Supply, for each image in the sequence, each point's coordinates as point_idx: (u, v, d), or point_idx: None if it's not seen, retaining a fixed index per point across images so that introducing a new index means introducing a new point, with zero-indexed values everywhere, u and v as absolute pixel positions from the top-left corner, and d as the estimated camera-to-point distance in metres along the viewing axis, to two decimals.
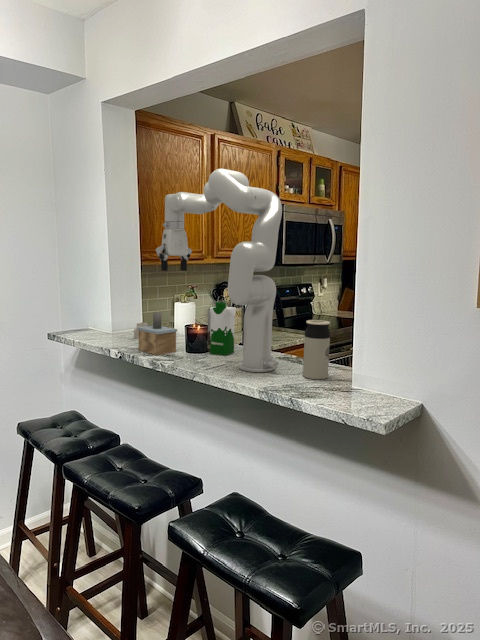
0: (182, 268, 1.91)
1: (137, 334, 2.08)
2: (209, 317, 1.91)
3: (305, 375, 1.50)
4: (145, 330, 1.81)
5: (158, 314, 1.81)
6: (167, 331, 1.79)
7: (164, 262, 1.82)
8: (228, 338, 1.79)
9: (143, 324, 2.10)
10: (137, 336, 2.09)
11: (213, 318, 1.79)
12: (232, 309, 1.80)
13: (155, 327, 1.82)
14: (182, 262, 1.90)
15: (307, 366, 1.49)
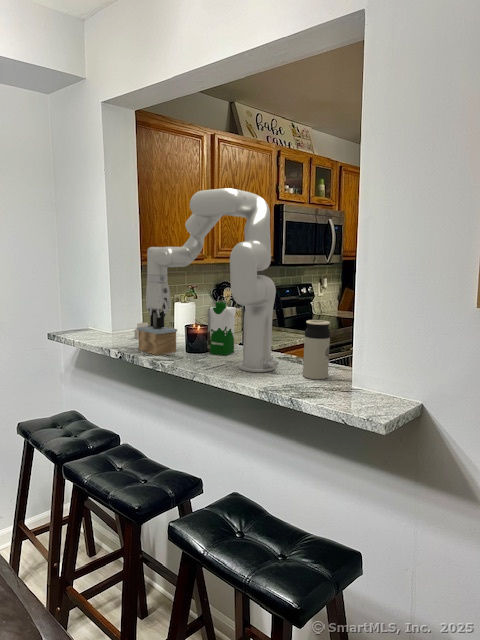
0: None
1: (138, 334, 2.08)
2: (209, 317, 1.91)
3: (305, 375, 1.50)
4: (145, 330, 1.81)
5: None
6: (167, 331, 1.79)
7: None
8: (228, 338, 1.79)
9: (144, 324, 2.10)
10: (138, 336, 2.09)
11: (213, 318, 1.79)
12: (232, 309, 1.80)
13: (155, 327, 1.82)
14: None
15: (307, 366, 1.49)
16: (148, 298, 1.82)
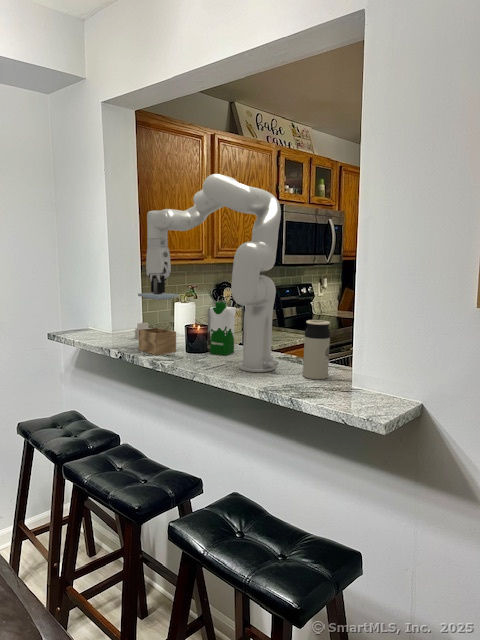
0: None
1: (138, 334, 2.08)
2: (209, 317, 1.91)
3: (305, 375, 1.50)
4: (146, 295, 1.79)
5: None
6: (168, 296, 1.77)
7: None
8: (228, 338, 1.79)
9: (144, 324, 2.10)
10: (138, 336, 2.09)
11: (213, 318, 1.79)
12: (232, 309, 1.80)
13: (156, 292, 1.80)
14: None
15: (307, 366, 1.49)
16: (148, 263, 1.80)
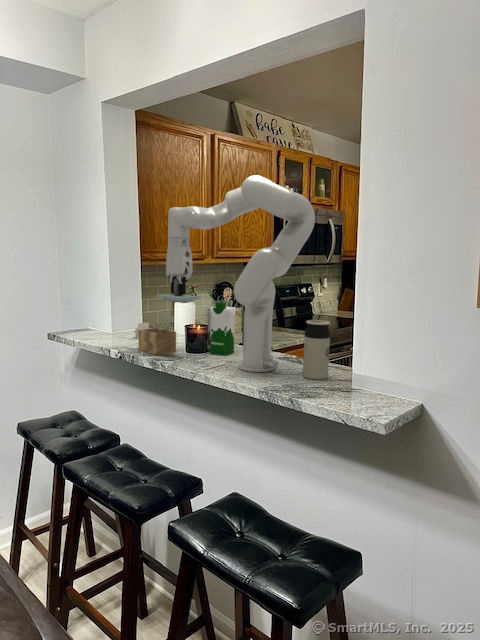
0: None
1: (138, 334, 2.09)
2: (209, 317, 1.91)
3: (305, 375, 1.50)
4: (165, 297, 1.69)
5: None
6: (189, 298, 1.67)
7: None
8: (228, 338, 1.79)
9: (144, 324, 2.10)
10: (138, 336, 2.09)
11: (213, 318, 1.79)
12: (232, 309, 1.80)
13: (176, 294, 1.70)
14: None
15: (307, 366, 1.49)
16: (169, 263, 1.70)
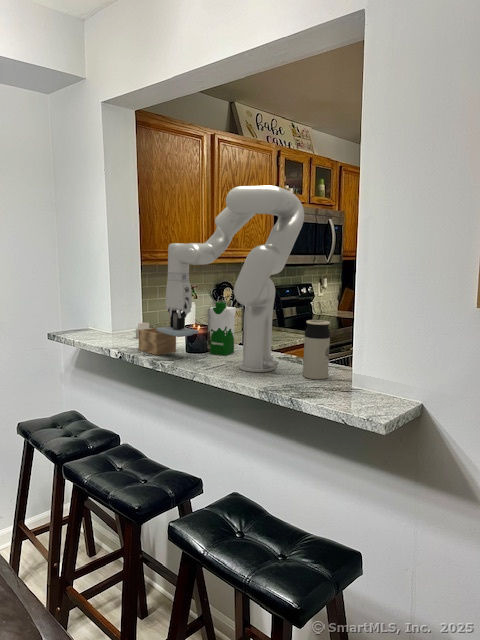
0: None
1: None
2: (209, 317, 1.91)
3: (305, 375, 1.50)
4: (165, 331, 1.70)
5: None
6: (188, 333, 1.69)
7: None
8: (228, 338, 1.79)
9: (145, 324, 2.10)
10: None
11: (213, 318, 1.79)
12: (232, 309, 1.80)
13: (175, 328, 1.72)
14: None
15: (307, 366, 1.49)
16: (168, 297, 1.71)
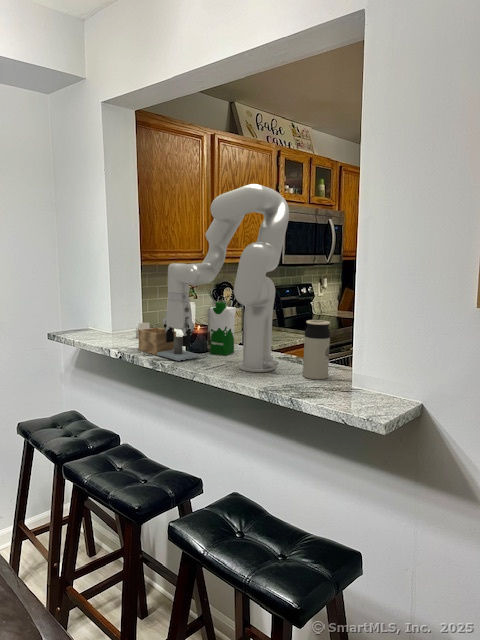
0: (170, 340, 1.76)
1: None
2: (209, 317, 1.91)
3: (305, 375, 1.50)
4: (166, 356, 1.71)
5: (179, 339, 1.72)
6: (189, 357, 1.70)
7: None
8: (228, 338, 1.79)
9: (145, 324, 2.10)
10: None
11: (213, 318, 1.79)
12: (232, 309, 1.80)
13: (176, 352, 1.73)
14: (170, 333, 1.76)
15: (307, 366, 1.49)
16: (168, 317, 1.72)
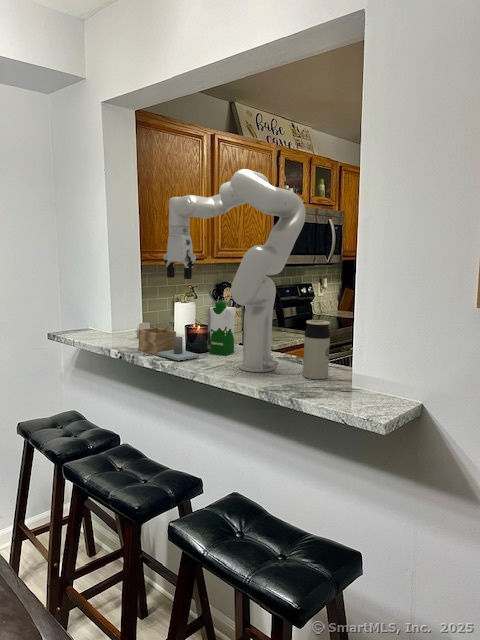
0: (170, 275, 1.79)
1: None
2: (209, 317, 1.91)
3: (305, 375, 1.50)
4: (166, 356, 1.71)
5: (179, 339, 1.72)
6: (189, 357, 1.70)
7: None
8: (228, 338, 1.79)
9: (145, 324, 2.10)
10: None
11: (213, 318, 1.79)
12: (232, 309, 1.80)
13: (176, 352, 1.73)
14: (170, 269, 1.79)
15: (307, 366, 1.49)
16: (170, 251, 1.75)
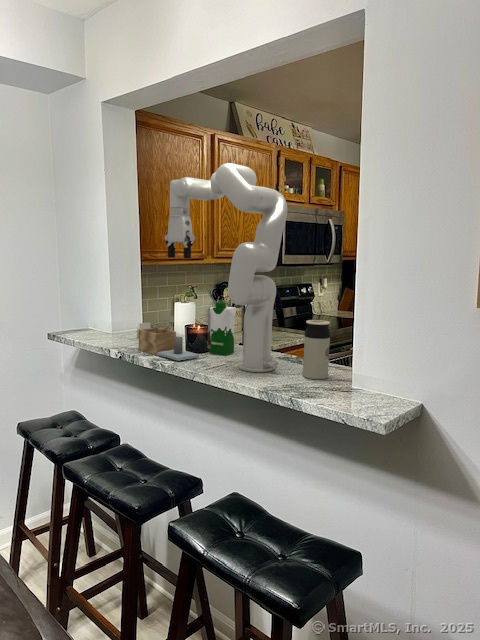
0: (171, 255, 1.87)
1: None
2: (209, 317, 1.91)
3: (305, 375, 1.50)
4: (166, 356, 1.71)
5: (179, 339, 1.72)
6: (189, 357, 1.70)
7: None
8: (228, 338, 1.79)
9: (146, 324, 2.10)
10: None
11: (213, 318, 1.79)
12: (232, 309, 1.80)
13: (176, 352, 1.73)
14: (171, 249, 1.87)
15: (307, 366, 1.49)
16: (170, 232, 1.83)
